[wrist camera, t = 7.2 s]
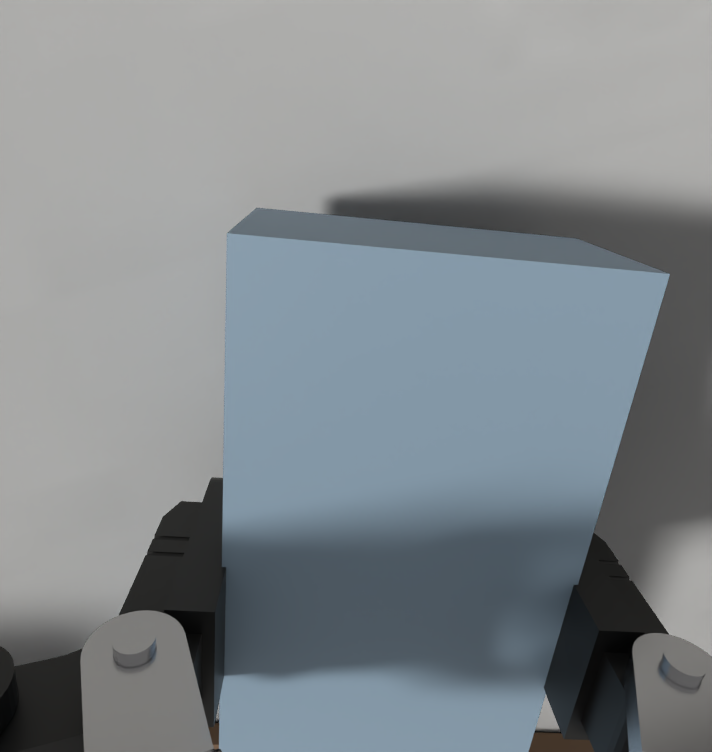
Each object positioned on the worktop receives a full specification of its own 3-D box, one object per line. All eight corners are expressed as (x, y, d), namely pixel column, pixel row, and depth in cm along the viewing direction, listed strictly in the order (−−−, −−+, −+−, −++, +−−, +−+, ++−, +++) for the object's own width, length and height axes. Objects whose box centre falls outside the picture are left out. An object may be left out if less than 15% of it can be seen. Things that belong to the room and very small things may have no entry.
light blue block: (256, 207, 10) (226, 233, 7) (575, 238, 10) (670, 273, 7) (239, 720, 14) (217, 862, 11) (462, 727, 14) (494, 866, 12)
